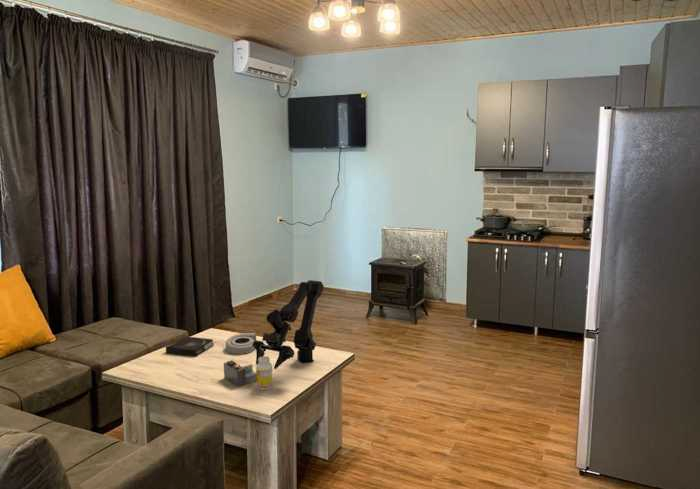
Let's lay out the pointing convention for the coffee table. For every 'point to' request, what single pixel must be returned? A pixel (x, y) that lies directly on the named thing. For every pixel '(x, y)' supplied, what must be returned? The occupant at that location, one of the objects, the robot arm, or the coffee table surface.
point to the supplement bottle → (264, 373)
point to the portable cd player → (189, 346)
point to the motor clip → (238, 373)
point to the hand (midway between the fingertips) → (265, 366)
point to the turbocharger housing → (241, 343)
